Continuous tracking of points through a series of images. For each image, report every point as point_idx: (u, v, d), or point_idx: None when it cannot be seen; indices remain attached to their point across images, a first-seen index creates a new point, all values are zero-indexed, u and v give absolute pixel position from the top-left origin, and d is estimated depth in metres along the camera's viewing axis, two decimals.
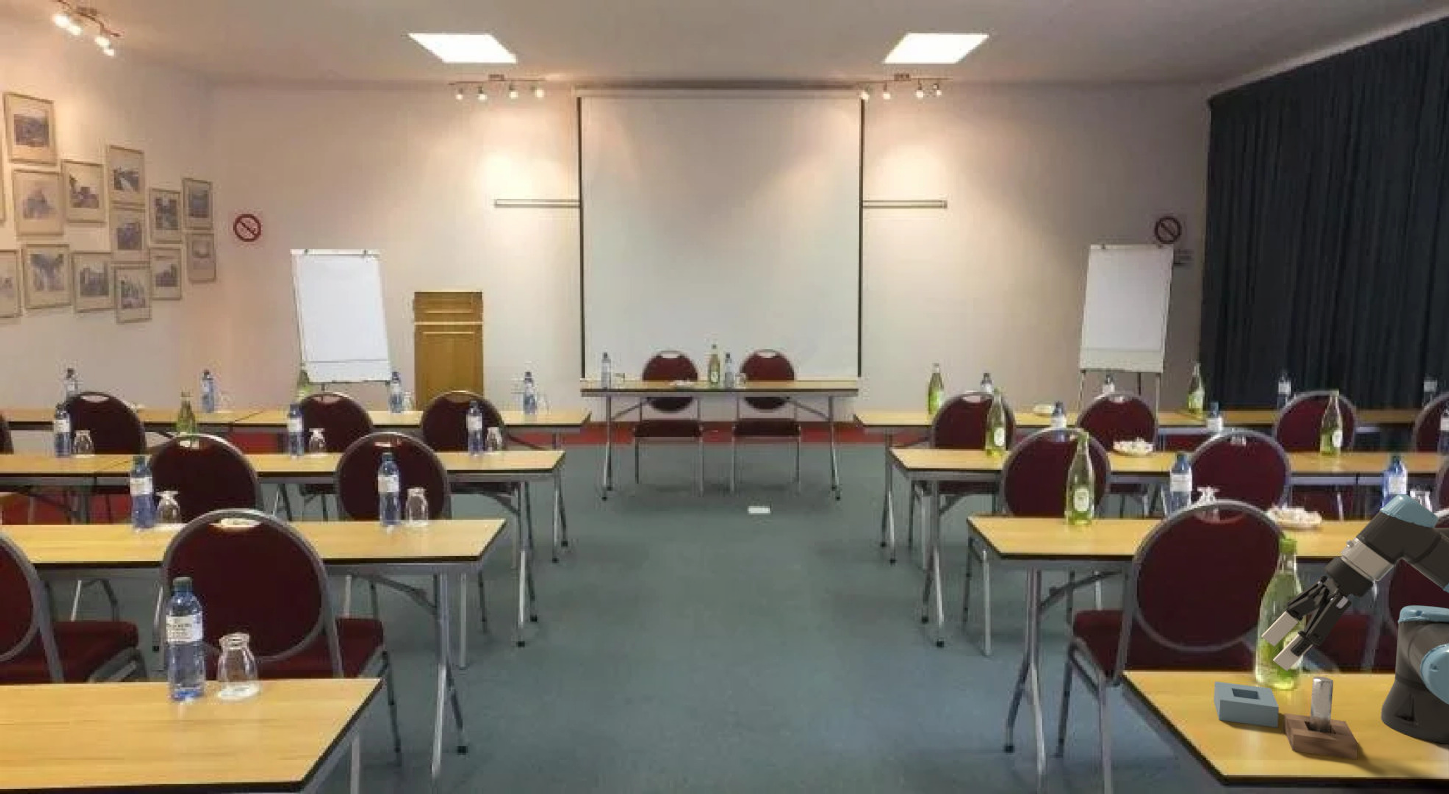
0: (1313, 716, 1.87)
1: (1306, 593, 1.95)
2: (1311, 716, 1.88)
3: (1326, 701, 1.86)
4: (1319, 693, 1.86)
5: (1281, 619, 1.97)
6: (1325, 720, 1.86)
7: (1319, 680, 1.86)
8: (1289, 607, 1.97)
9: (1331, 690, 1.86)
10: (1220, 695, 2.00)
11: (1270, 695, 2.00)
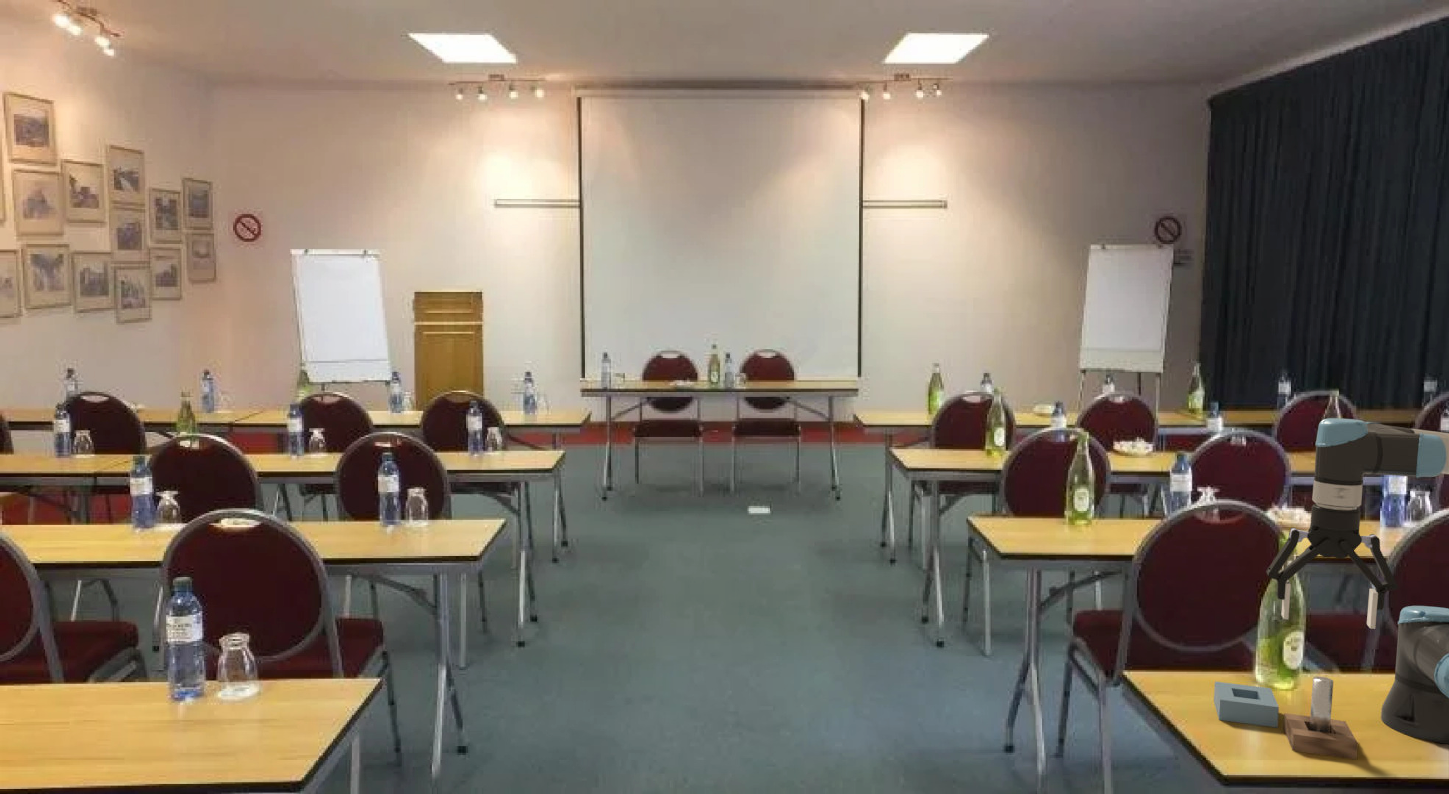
0: (1313, 716, 1.87)
1: None
2: (1311, 716, 1.88)
3: (1326, 701, 1.86)
4: (1320, 693, 1.86)
5: None
6: (1325, 720, 1.86)
7: (1319, 680, 1.86)
8: (1284, 578, 1.86)
9: (1331, 690, 1.86)
10: (1220, 695, 2.00)
11: (1270, 695, 2.00)
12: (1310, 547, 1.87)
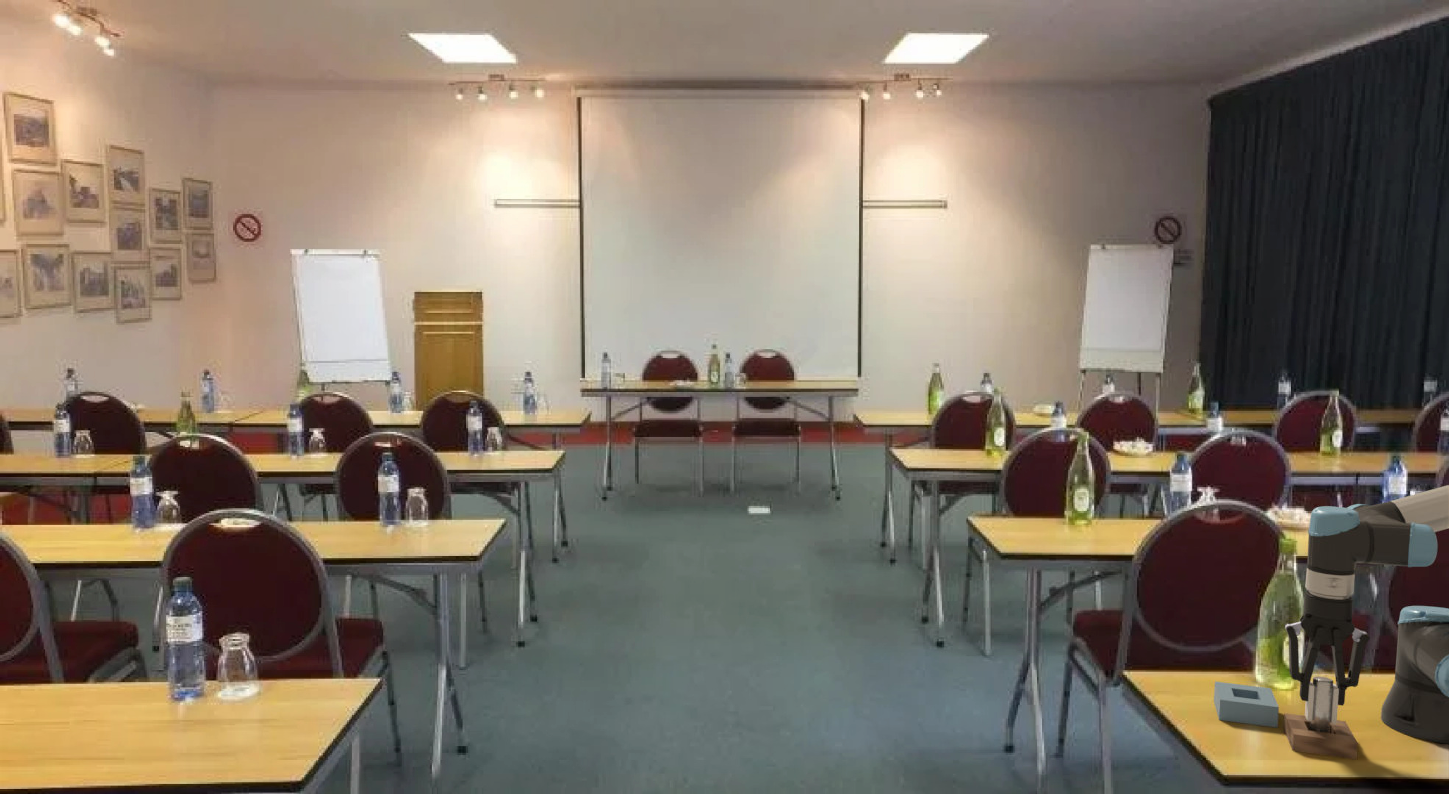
0: (1313, 716, 1.87)
1: None
2: None
3: (1326, 701, 1.86)
4: (1320, 693, 1.86)
5: None
6: (1325, 720, 1.86)
7: (1319, 680, 1.86)
8: (1307, 679, 1.87)
9: (1331, 690, 1.86)
10: (1220, 695, 2.00)
11: (1270, 695, 2.00)
12: (1311, 638, 1.88)
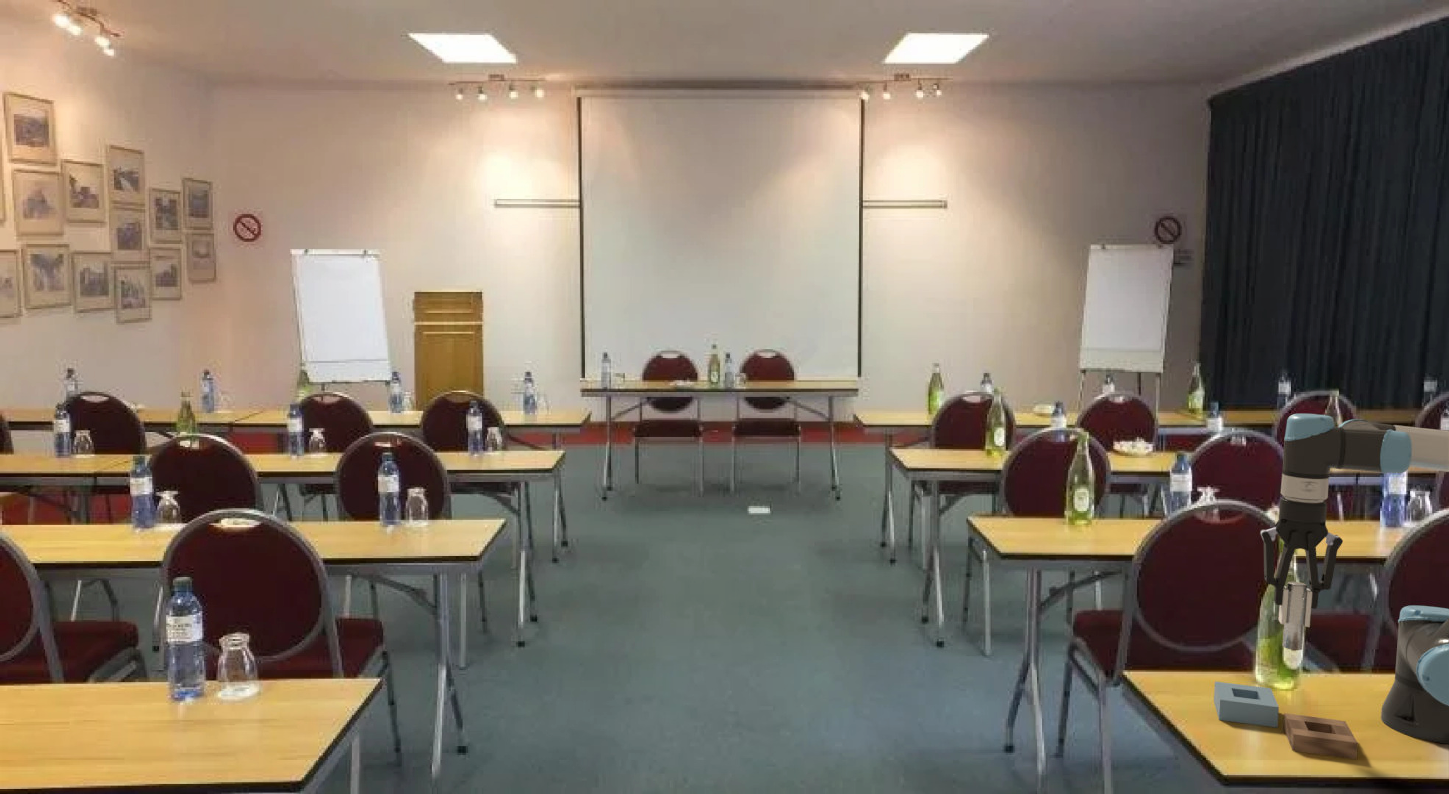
0: (1287, 620, 1.90)
1: None
2: None
3: (1300, 604, 1.89)
4: (1294, 597, 1.89)
5: None
6: (1299, 623, 1.89)
7: (1293, 584, 1.90)
8: (1281, 583, 1.90)
9: (1305, 594, 1.89)
10: (1220, 695, 2.00)
11: (1270, 695, 2.00)
12: (1285, 544, 1.91)
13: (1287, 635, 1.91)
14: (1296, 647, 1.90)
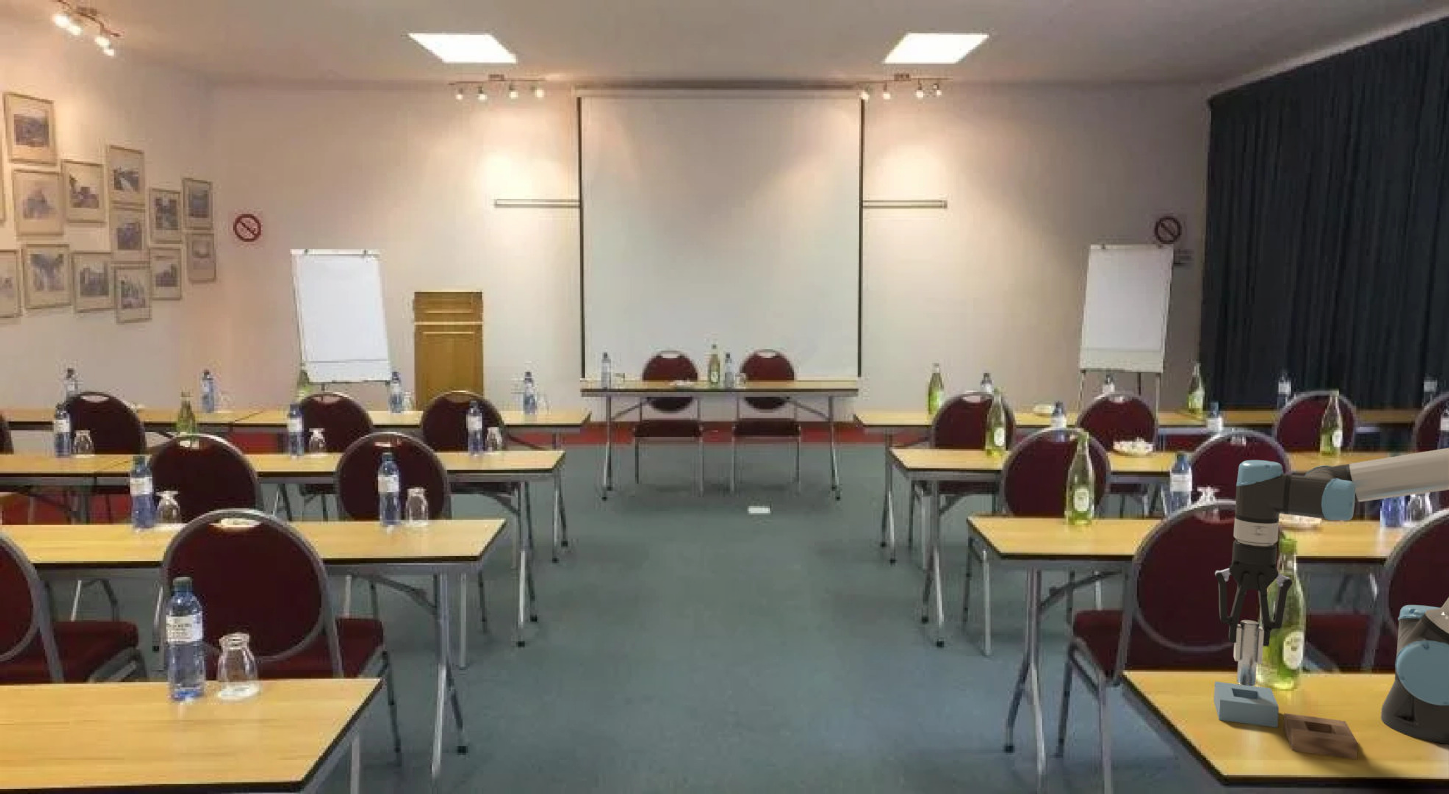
0: (1240, 657, 2.00)
1: (1226, 596, 1.99)
2: None
3: (1252, 642, 1.98)
4: (1246, 635, 1.98)
5: (1240, 636, 1.99)
6: (1251, 660, 1.98)
7: (1246, 623, 1.99)
8: (1234, 622, 1.99)
9: (1257, 632, 1.98)
10: (1220, 695, 2.00)
11: (1270, 695, 2.00)
12: (1239, 584, 2.00)
13: (1240, 672, 2.00)
14: (1249, 683, 1.99)
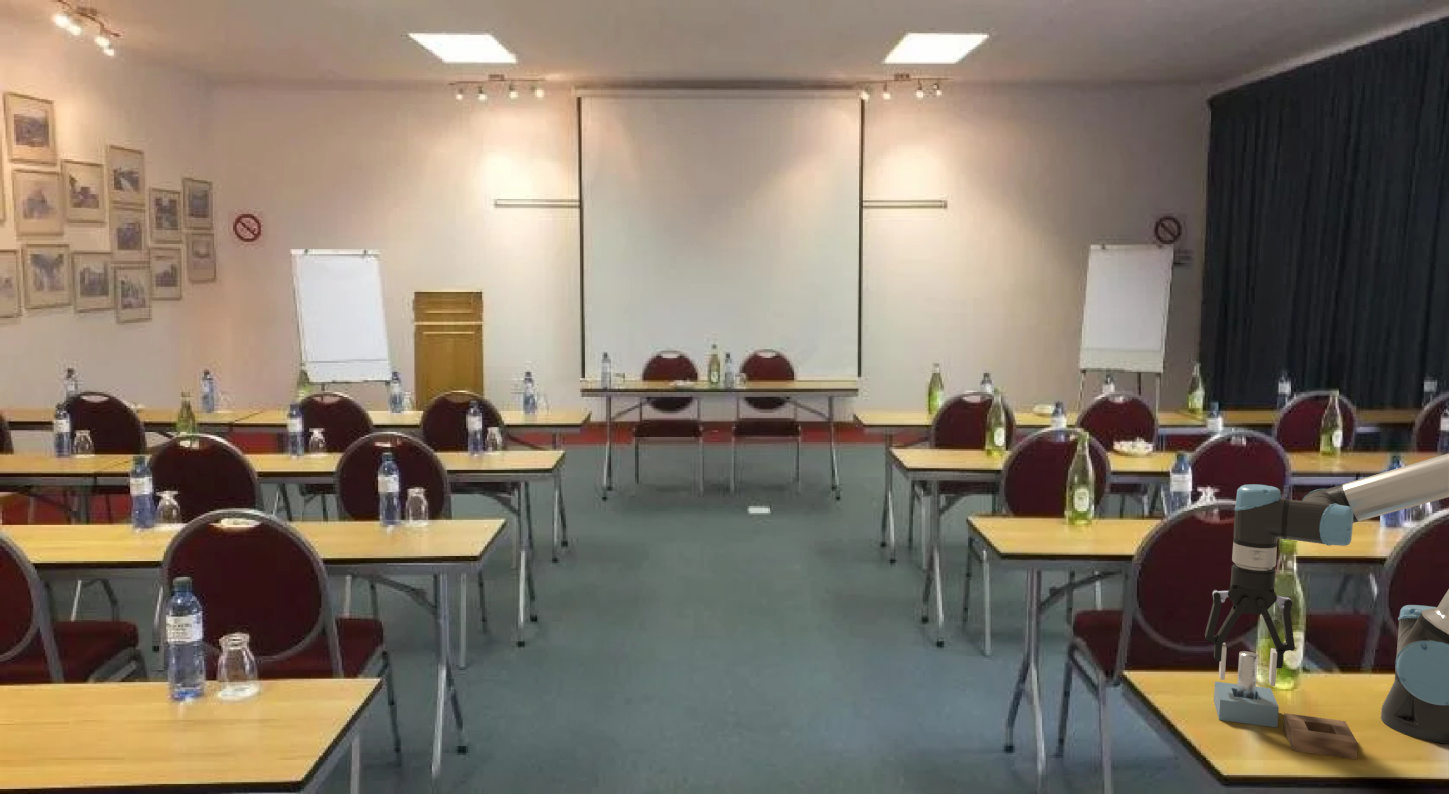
0: (1239, 688, 2.00)
1: None
2: (1237, 688, 2.01)
3: (1250, 674, 1.99)
4: (1245, 667, 1.99)
5: (1225, 654, 2.00)
6: (1250, 691, 1.99)
7: (1244, 654, 2.00)
8: (1220, 641, 2.00)
9: (1255, 664, 1.99)
10: (1220, 695, 2.00)
11: (1270, 695, 2.00)
12: (1234, 606, 2.01)
13: None
14: None
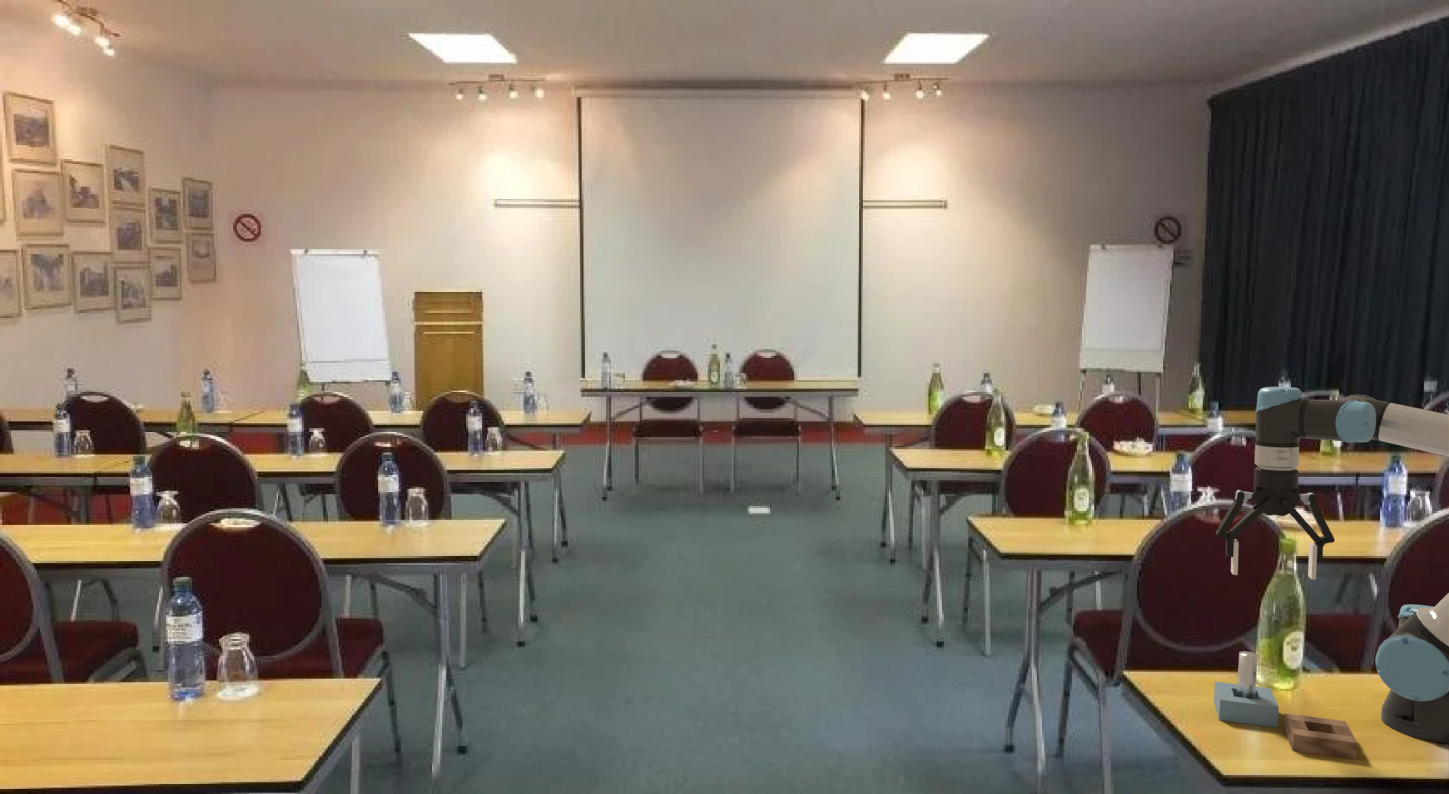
0: (1239, 688, 2.00)
1: None
2: (1237, 688, 2.01)
3: (1250, 674, 1.99)
4: (1245, 667, 1.99)
5: None
6: (1250, 691, 1.99)
7: (1244, 654, 1.99)
8: (1232, 536, 2.01)
9: (1255, 664, 1.99)
10: (1220, 695, 2.00)
11: (1270, 695, 2.00)
12: (1254, 507, 2.02)
13: None
14: None
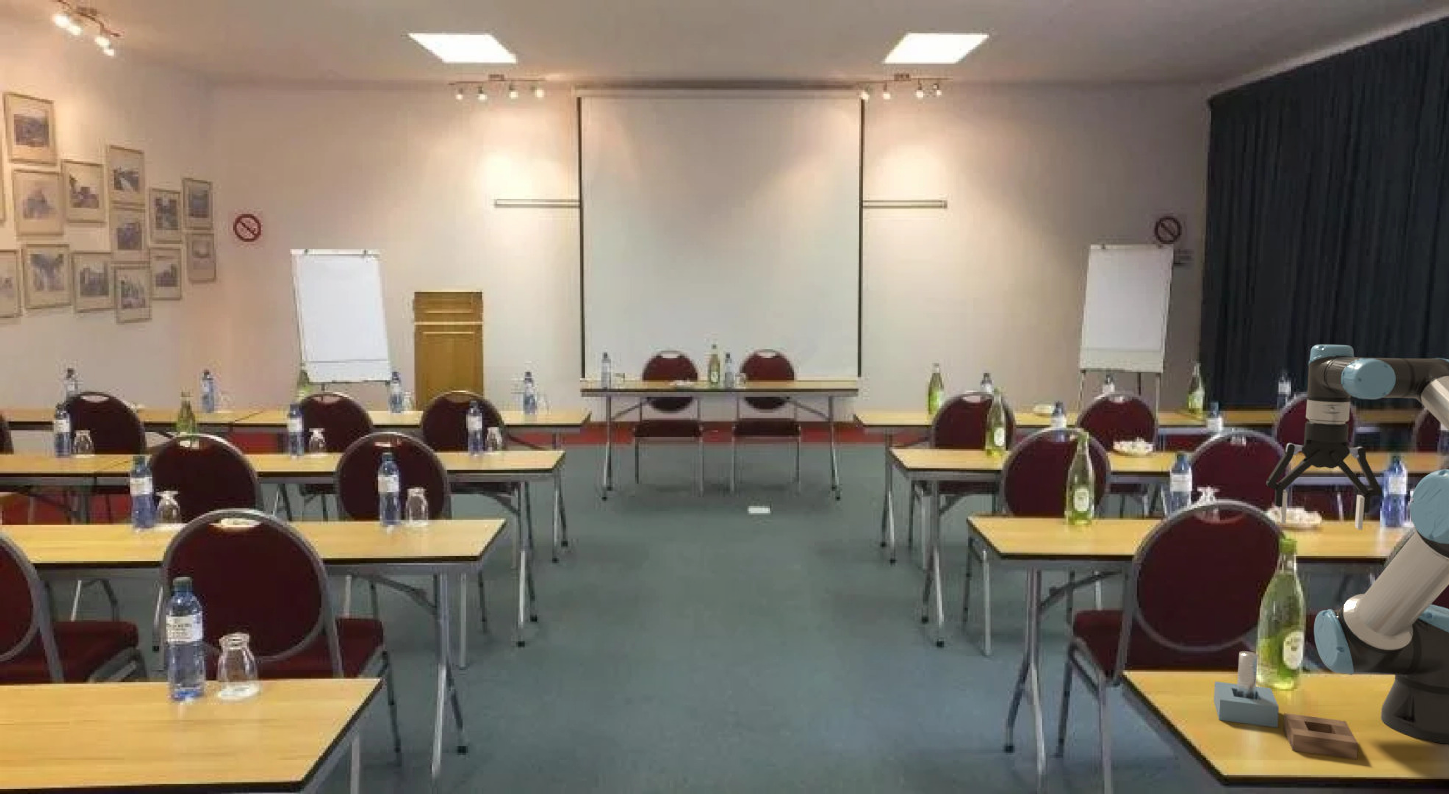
0: (1239, 688, 2.00)
1: None
2: (1237, 688, 2.01)
3: (1250, 674, 1.99)
4: (1245, 667, 1.99)
5: None
6: (1250, 691, 1.99)
7: (1244, 654, 2.00)
8: (1282, 487, 2.10)
9: (1255, 664, 1.99)
10: (1220, 695, 2.00)
11: (1270, 695, 2.00)
12: (1304, 460, 2.11)
13: None
14: None
